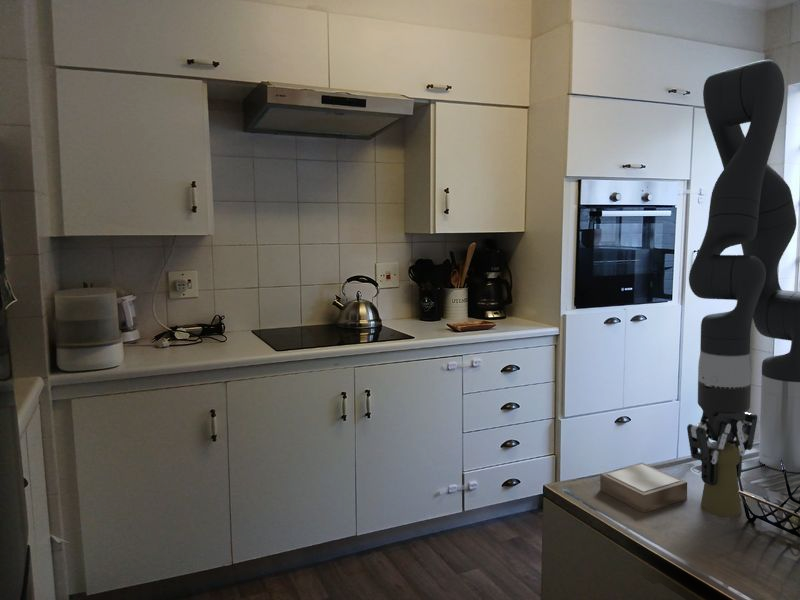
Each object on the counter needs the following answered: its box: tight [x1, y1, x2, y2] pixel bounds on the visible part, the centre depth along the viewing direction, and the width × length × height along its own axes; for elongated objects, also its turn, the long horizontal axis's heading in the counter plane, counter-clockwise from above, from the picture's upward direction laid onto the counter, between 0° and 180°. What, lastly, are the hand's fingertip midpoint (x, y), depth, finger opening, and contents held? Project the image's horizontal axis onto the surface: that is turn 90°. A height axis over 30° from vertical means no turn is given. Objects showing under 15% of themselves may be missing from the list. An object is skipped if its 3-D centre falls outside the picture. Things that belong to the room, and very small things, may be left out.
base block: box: [599, 462, 688, 514], centre depth 107 cm, size 10×10×3 cm
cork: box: [700, 441, 742, 518], centre depth 101 cm, size 6×6×11 cm
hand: (721, 479), depth 101 cm, fingers closed on cork, 5 cm apart
